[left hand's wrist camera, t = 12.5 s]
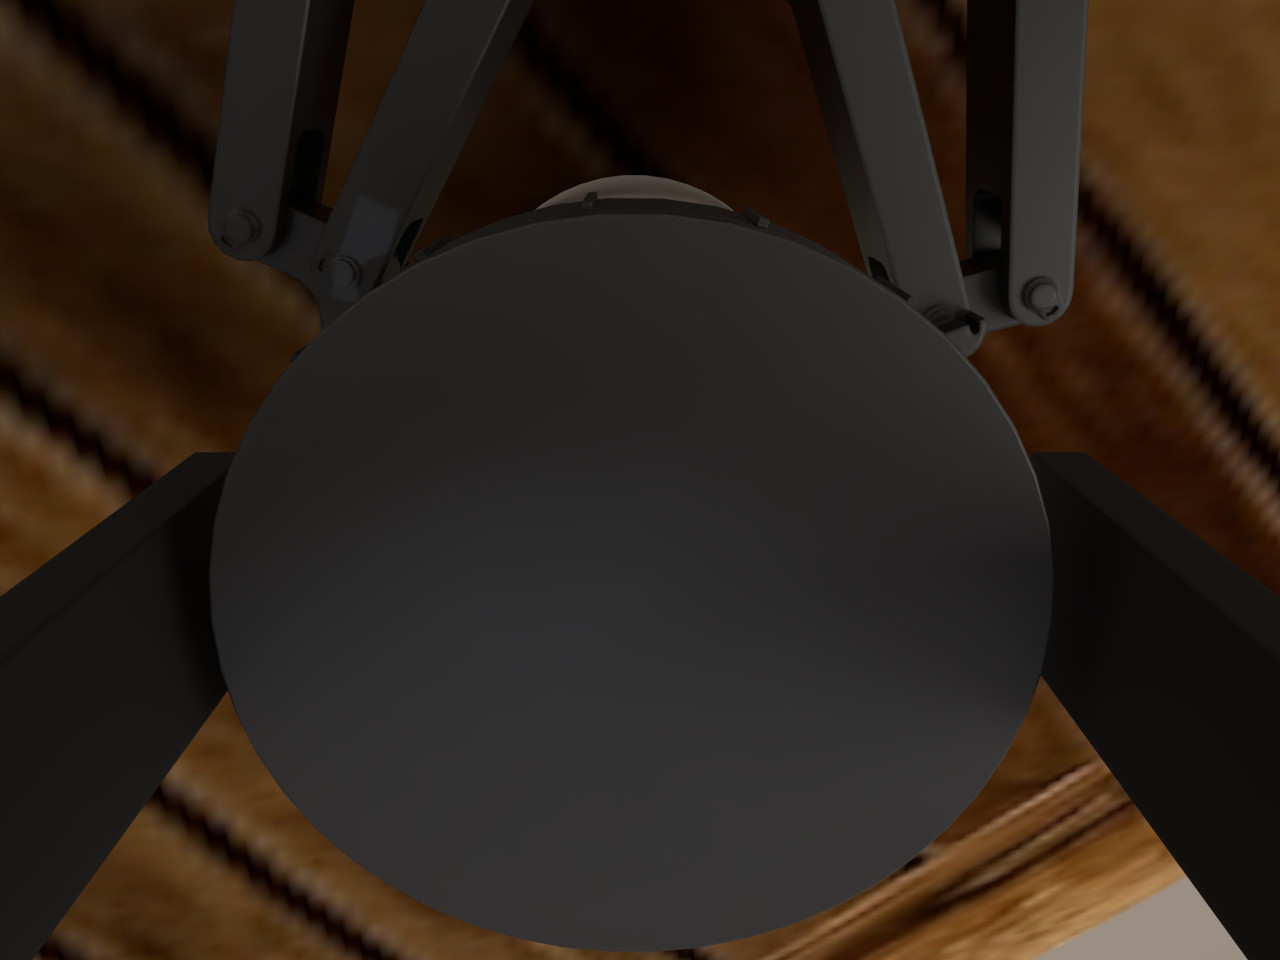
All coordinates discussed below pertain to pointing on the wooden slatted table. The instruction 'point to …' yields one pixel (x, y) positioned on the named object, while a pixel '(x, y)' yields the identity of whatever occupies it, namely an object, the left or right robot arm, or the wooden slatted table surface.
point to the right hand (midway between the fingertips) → (617, 600)
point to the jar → (636, 190)
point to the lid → (631, 578)
